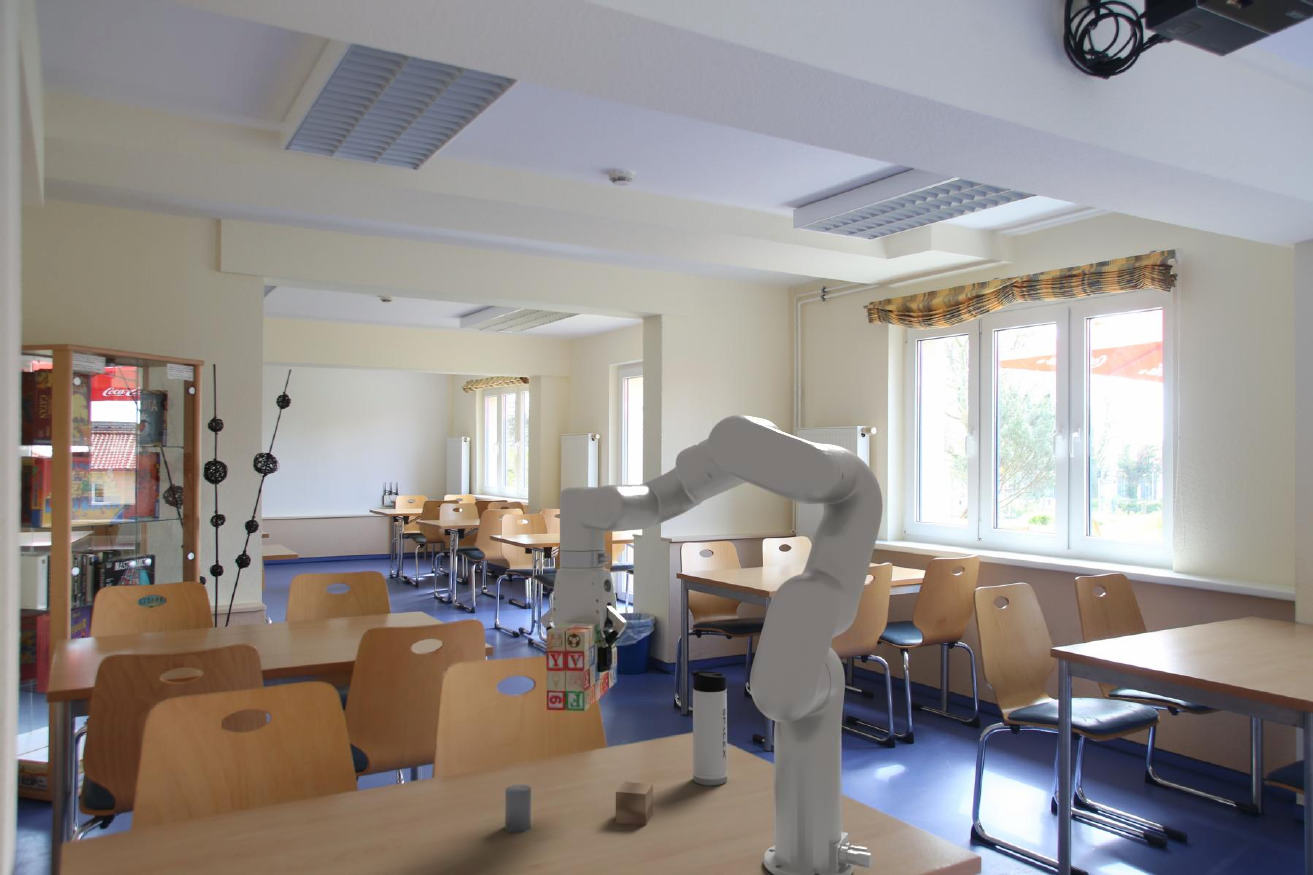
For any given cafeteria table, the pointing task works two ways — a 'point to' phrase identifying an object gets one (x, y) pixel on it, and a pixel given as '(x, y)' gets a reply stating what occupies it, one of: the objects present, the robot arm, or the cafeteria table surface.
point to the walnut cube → (634, 803)
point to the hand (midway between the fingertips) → (583, 668)
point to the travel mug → (709, 728)
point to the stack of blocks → (575, 667)
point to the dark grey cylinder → (518, 808)
